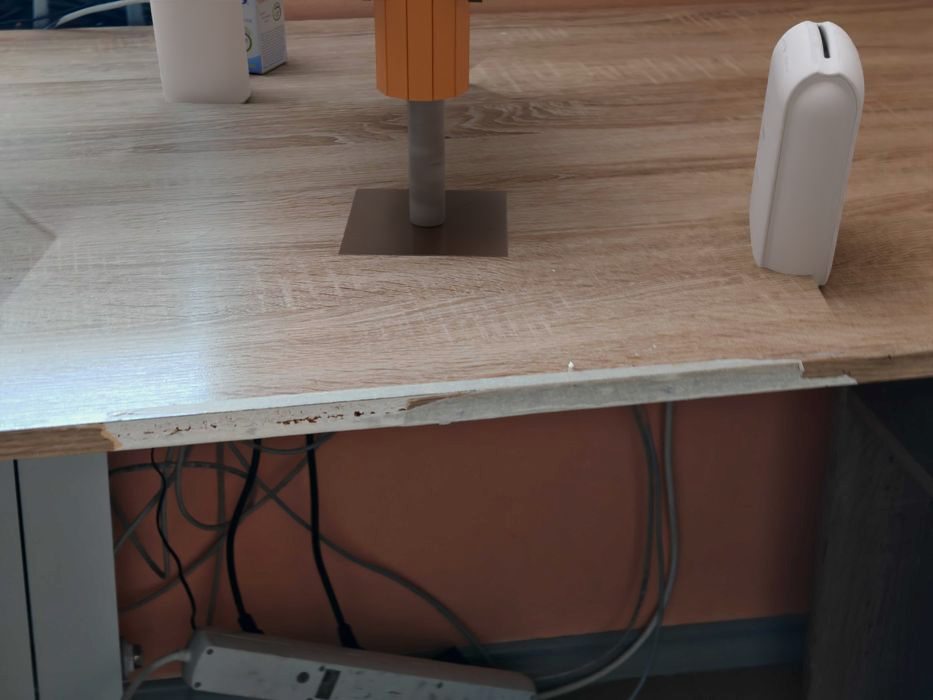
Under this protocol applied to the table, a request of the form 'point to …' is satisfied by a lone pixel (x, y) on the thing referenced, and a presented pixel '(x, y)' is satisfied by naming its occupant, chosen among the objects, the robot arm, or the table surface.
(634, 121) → the table surface
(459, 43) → the ring sleeve
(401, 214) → the post stand
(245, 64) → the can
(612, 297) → the table surface
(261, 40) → the medicine box
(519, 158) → the table surface
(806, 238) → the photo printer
